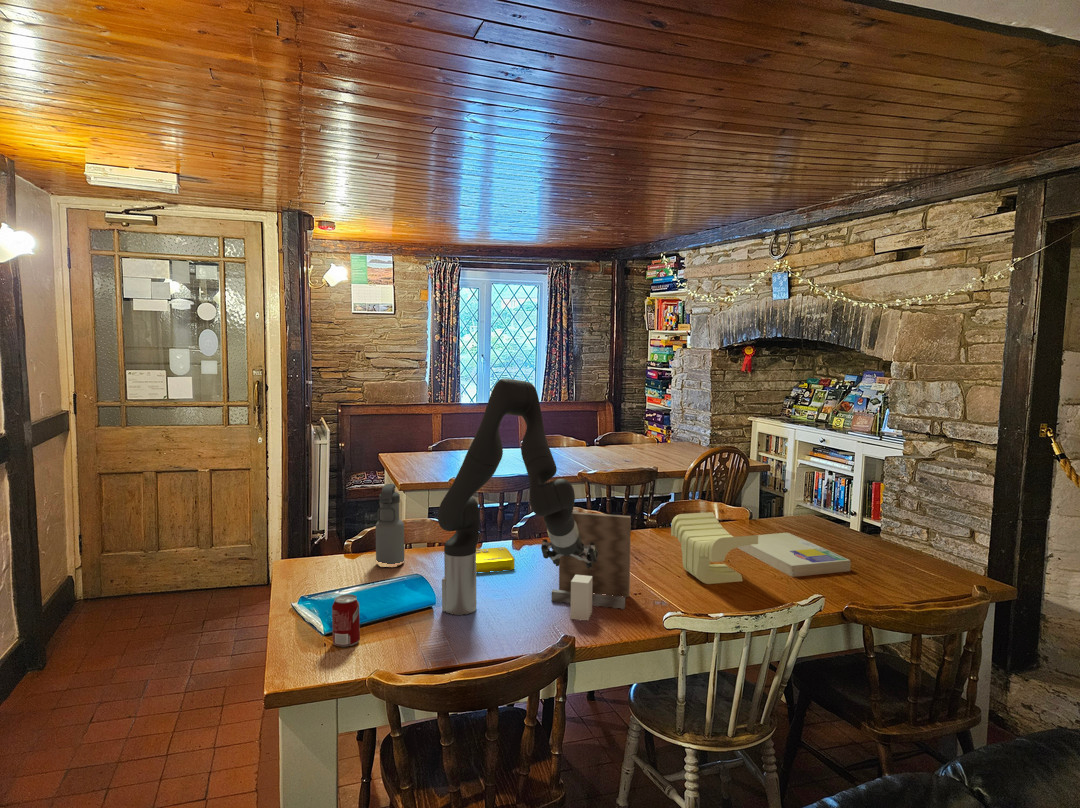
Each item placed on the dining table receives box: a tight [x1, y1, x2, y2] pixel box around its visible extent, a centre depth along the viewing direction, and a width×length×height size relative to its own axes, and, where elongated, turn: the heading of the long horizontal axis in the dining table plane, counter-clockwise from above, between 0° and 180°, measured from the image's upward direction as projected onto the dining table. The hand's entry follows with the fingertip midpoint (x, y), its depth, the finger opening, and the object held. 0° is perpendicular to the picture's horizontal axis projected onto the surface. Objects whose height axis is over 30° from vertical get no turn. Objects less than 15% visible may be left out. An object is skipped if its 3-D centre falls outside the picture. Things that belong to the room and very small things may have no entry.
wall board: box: [551, 511, 632, 610], centre depth 207 cm, size 22×12×25 cm, turn 75°
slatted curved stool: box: [670, 511, 759, 585], centre depth 228 cm, size 30×16×18 cm, turn 14°
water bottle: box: [375, 483, 405, 564], centre depth 238 cm, size 10×10×28 cm
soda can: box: [331, 593, 361, 648], centre depth 176 cm, size 7×7×12 cm
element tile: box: [476, 546, 516, 572], centre depth 239 cm, size 15×15×5 cm
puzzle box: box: [736, 532, 852, 578], centre depth 248 cm, size 36×5×24 cm
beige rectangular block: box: [570, 575, 593, 621], centre depth 194 cm, size 5×6×11 cm
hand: (573, 564), depth 182 cm, fingers open, 8 cm apart
